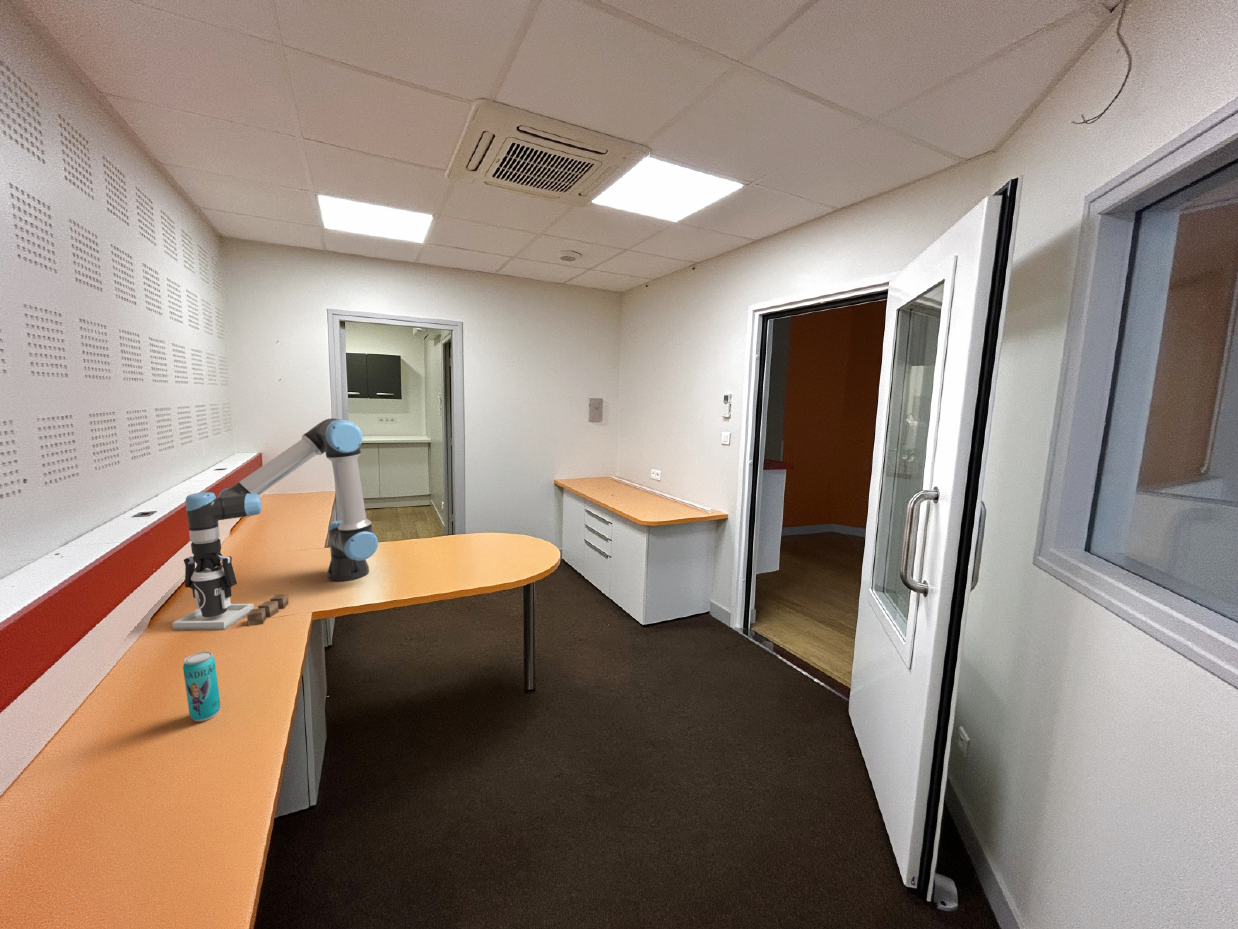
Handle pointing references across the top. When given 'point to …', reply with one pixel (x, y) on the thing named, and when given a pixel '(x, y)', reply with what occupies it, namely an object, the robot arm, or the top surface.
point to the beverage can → (201, 686)
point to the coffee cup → (209, 591)
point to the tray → (212, 619)
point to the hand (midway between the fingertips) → (213, 606)
